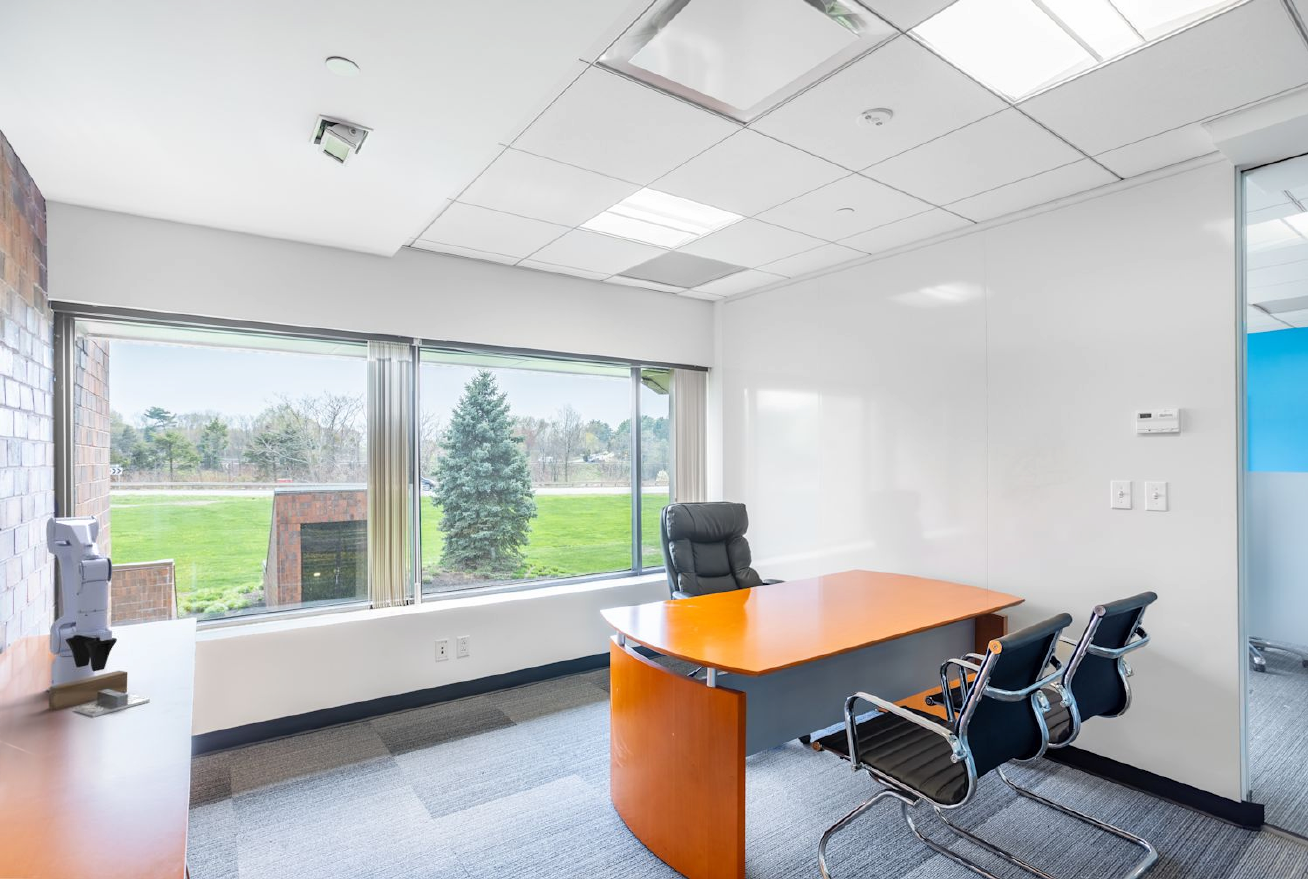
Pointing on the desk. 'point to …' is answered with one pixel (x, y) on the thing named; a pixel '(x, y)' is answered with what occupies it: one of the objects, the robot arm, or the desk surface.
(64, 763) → the desk surface
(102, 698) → the balance stand
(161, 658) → the desk surface
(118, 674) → the walnut rod
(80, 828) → the desk surface
